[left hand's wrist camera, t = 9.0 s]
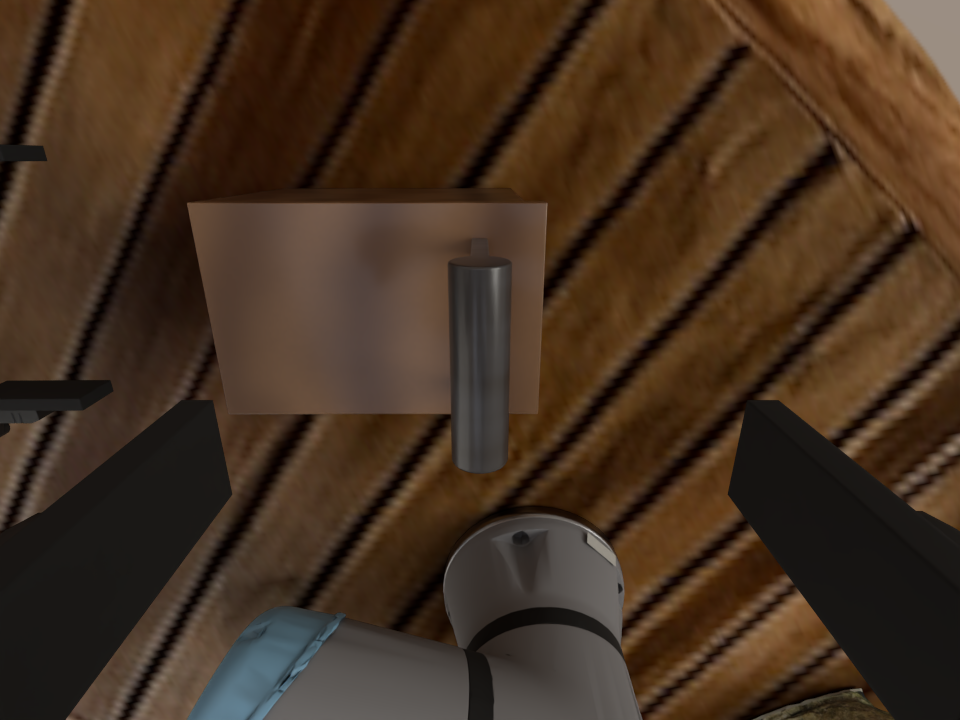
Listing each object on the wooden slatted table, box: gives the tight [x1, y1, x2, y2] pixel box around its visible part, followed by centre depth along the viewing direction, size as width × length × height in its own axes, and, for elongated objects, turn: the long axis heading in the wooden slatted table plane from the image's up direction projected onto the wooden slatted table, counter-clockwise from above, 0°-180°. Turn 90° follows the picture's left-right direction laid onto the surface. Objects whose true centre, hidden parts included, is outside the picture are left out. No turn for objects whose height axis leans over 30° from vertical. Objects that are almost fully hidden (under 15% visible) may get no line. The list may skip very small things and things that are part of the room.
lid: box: [187, 201, 547, 473], centre depth 21 cm, size 16×10×8 cm, turn 90°
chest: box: [203, 188, 524, 201], centre depth 30 cm, size 15×10×11 cm
